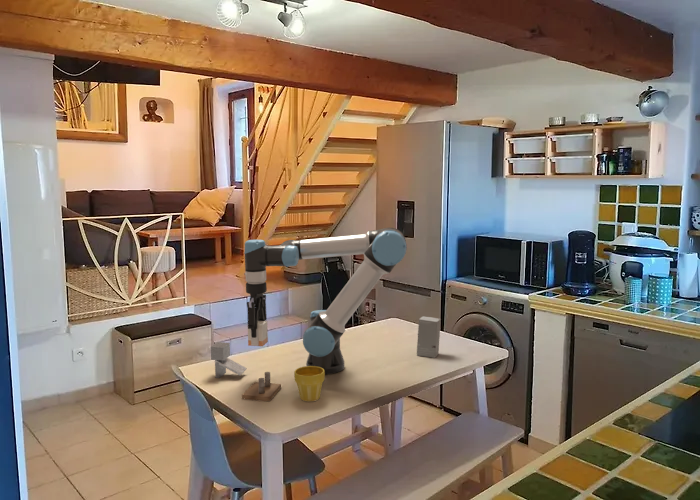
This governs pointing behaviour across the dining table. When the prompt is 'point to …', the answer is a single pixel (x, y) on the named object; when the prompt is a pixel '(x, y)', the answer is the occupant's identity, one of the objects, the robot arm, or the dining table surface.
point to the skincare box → (428, 337)
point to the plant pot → (309, 382)
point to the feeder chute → (224, 360)
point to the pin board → (261, 397)
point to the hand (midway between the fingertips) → (258, 342)
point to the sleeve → (260, 333)
